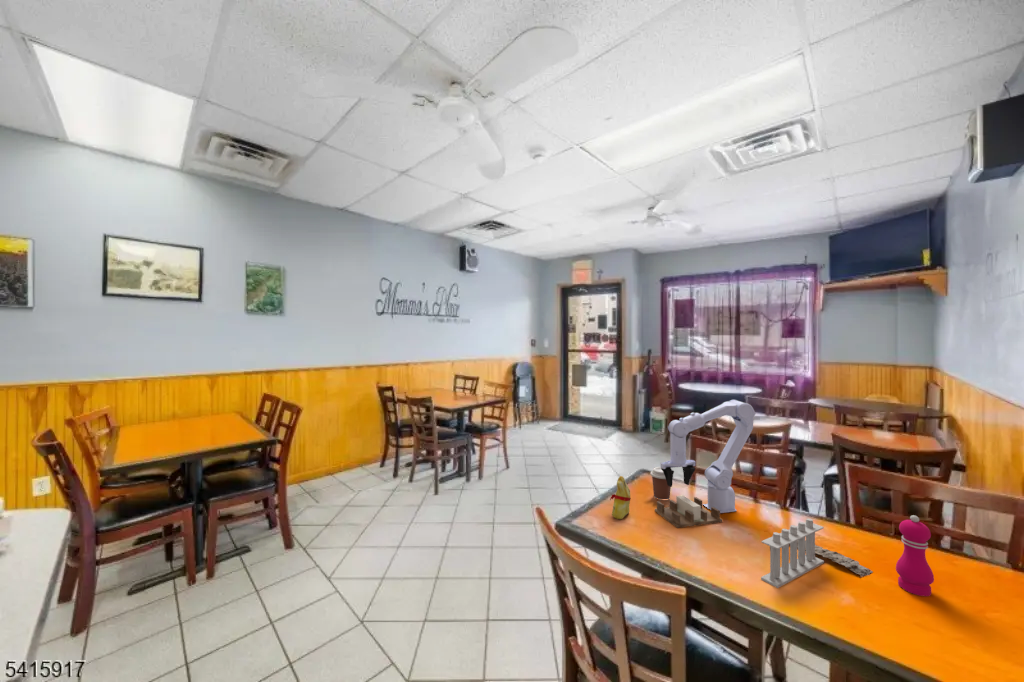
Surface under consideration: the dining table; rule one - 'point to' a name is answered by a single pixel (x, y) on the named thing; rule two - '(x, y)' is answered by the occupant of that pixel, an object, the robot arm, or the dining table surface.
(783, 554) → the test tube rack
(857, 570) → the stone fragment
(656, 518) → the dining table surface
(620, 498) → the chocolate bunny
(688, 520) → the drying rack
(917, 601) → the dining table surface
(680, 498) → the cream rectangular block
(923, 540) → the pepper mill
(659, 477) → the coffee cup
